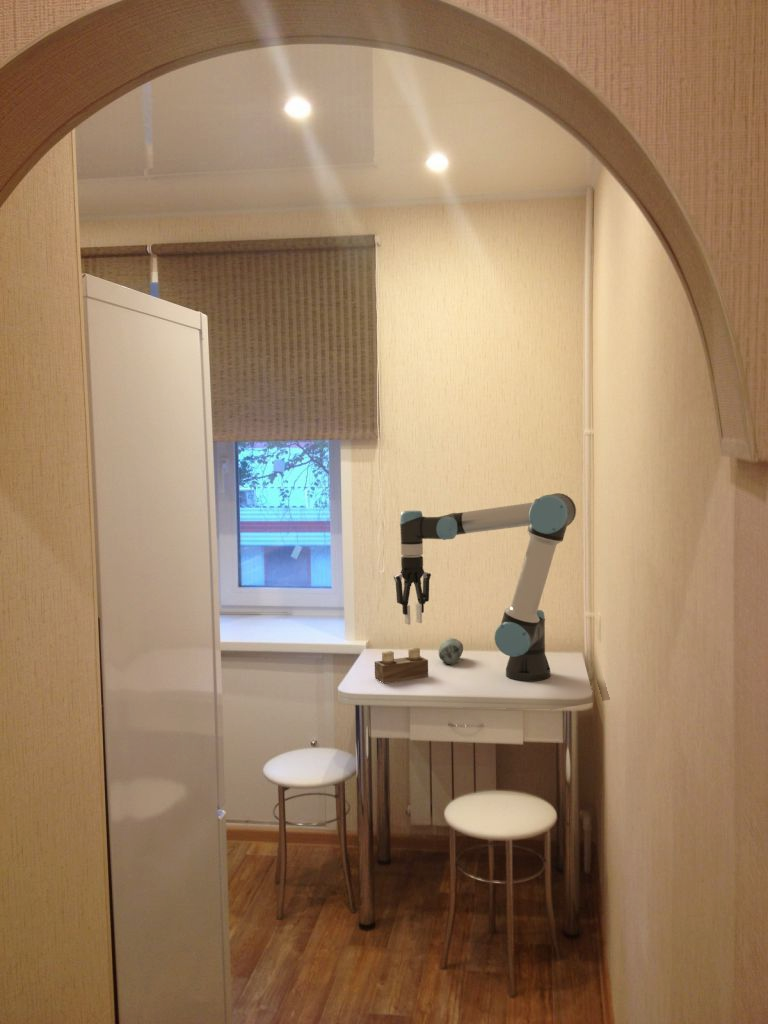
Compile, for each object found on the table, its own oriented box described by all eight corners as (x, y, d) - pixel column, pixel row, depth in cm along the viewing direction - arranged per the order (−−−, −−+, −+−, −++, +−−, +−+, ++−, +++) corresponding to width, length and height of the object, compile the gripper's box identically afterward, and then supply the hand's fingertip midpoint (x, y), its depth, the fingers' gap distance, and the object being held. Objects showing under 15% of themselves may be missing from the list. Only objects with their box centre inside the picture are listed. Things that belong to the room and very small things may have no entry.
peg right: (422, 663, 309) (421, 649, 309) (411, 665, 308) (411, 650, 307) (416, 661, 313) (416, 647, 313) (406, 662, 311) (406, 648, 311)
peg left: (396, 667, 305) (395, 652, 305) (385, 668, 303) (384, 654, 303) (391, 664, 309) (390, 650, 308) (380, 666, 307) (380, 651, 307)
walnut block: (428, 676, 309) (427, 659, 308) (383, 683, 302) (383, 665, 301) (419, 672, 315) (418, 655, 315) (375, 678, 308) (374, 661, 308)
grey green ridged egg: (464, 657, 321) (452, 632, 324) (441, 669, 323) (429, 644, 326) (472, 658, 334) (460, 634, 337) (449, 669, 336) (438, 645, 339)
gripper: (428, 552, 314) (430, 618, 316) (385, 556, 307) (386, 623, 309) (438, 555, 308) (440, 622, 309) (394, 558, 301) (396, 627, 302)
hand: (413, 622), depth 309 cm, fingers open, 4 cm apart
